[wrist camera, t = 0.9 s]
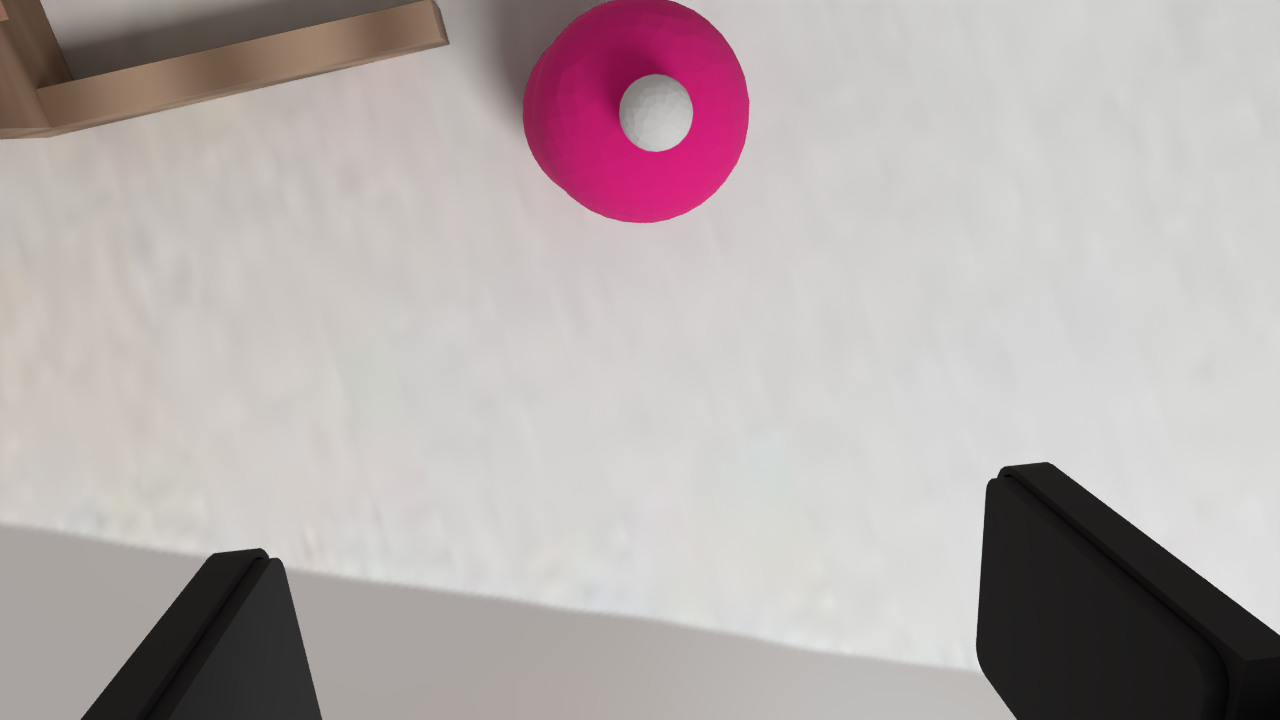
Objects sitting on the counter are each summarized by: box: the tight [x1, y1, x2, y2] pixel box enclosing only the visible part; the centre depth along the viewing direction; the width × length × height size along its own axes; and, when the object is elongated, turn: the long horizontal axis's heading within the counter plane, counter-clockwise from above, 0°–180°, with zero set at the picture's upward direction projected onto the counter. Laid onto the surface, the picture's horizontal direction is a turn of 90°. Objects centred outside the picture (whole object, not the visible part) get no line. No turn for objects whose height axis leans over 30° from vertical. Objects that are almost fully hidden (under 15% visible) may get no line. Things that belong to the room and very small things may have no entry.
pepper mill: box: [523, 0, 749, 223], centre depth 28 cm, size 7×7×20 cm
